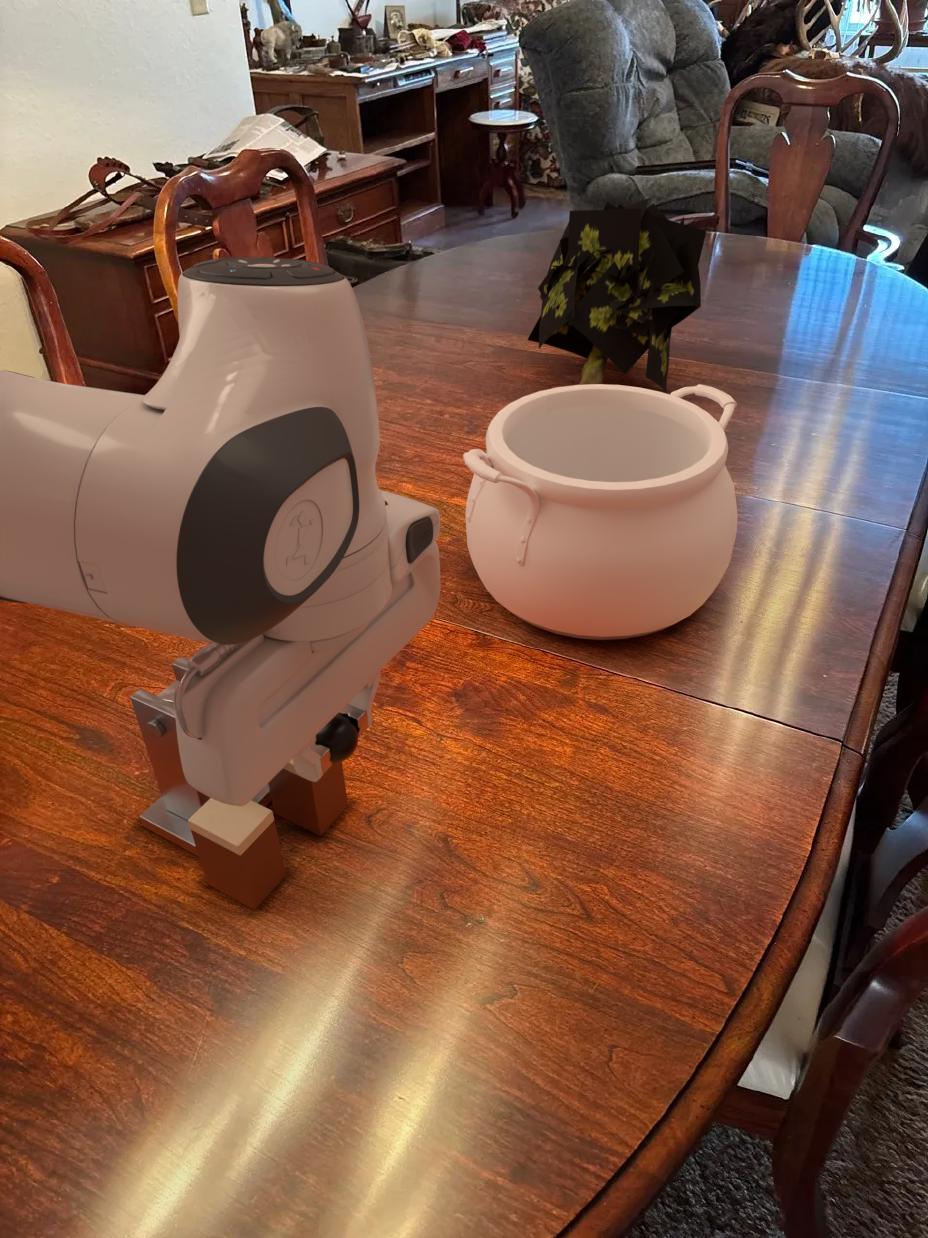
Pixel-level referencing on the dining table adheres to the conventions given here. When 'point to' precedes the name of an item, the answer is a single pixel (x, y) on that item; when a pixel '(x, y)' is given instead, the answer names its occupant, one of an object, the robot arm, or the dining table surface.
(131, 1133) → the dining table surface
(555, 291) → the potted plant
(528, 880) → the dining table surface
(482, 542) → the pot
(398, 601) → the robot arm
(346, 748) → the black ball knob lever
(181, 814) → the bracket
